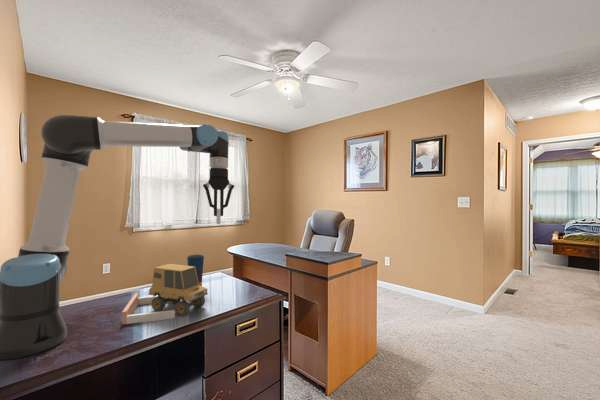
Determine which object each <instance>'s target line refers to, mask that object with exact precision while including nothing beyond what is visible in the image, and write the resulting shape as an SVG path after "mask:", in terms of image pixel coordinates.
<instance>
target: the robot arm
mask: <svg viewBox="0 0 600 400" xmlns="http://www.w3.org/2000/svg"><path fill="white" fill-rule="evenodd" d="M40 136H41V137H42V141H43V142H44V144H43V148H42V153H41V158H40V159H41V160H42V161H43V162H44V164H45V170H44V174H43V179H42V182H41V187H40V189H39V190H40V191H39V195H38V200H37V204H36V209H35V213H34V217H33V220H32V226H31V229H30V234H29V237H28V242H26V243H24V244H23V245H21V246H20V248H19V250H18V255H17V257H12V258H9V259H7V260H5V261H4V262H3V263H2V264H1V266H0V361H2V360H3V361H5V360H12V359H20V358H24V357H29V356H33V355H35V354H38V353H42V352H44V351H47V350H50V349H51V348H55V347H56V346H58V345H59V344H61V343H62V342H64V341H65V340H66V338H67V337H68V328H67V327H68V326H67V325H66V322H65V320H64V318H63V316H62V313H61V311H60V284H61V282H62V281H63V279H64V277H65V276H66V273H67V271H68V270H67V269H68V266H67V265H68V264H67V263H68V260H69V259H68V258H69V254H70V251H71V249H70V247H69V246H67V245H66V241H67V235H68V233H69V232H68V230H69V225H70V222H71V217H72V214H73V208H74V204H75V199H76V195H77V190H78V185H79V181H80V177H81V173H82V171H84V170H86V169H88V166H89V163H90V158H91V154H92V152H93V151H95V150H98V151H99V150H101V151H102V150H103V149H104V148H105V147H144V148H145V147H147V148H151V147H155V148H156V147H159V148H160V147H161V148H162V147H163V148H166V147H172V148H173V147H174V148H175V147H176V148H177V147H178V148H179V149H180V150H182V151H185V152H186V151H187V152H188V153H189V152H192V153H194V152H195V153H203V154H204V153H205V154H209V167H210V168H209V179H208V182H207V183H203V185H202V187H203V188H204V189H205V194H206V197H207V201H208V206H209V207H210V208H213V216H214V217H216V222H215V223H216V225H221V218H222V217H223V216H224V209H225V208H227V207H229V206H228V205H229V203H230V199H231V196H232V195H231V194H232V191H233V189H234V188H235V185H234V184H232V183H230V181H229V134H228V132H226V131H223V130H217V129H216V128H215V126H214V125H212V124H209V123H203V124H200V125H188V124H187V125H186V124H185V125H183V124H172V123H170V124H169V123H148V122H134V121H133V122H132V121H130V122H128V121H113V120H112V121H111V120H103V119H101V118H100V117H99V116H89V115H88V116H86V115H72V114H59V115H58V114H57V115H55V116H53V117H50V118H48V119H47V120H45V122H44V123H43V125H42V126H41V133H40ZM210 187H211V188H212V190H213V201H212V198H211V193H210V189H209V188H210ZM226 188H228V189H227V190H228V191H227V194H226V199H225V198H224V192H225V189H226ZM218 191H219V197H220V198H219V203H220V205H219V208H218ZM224 200H225V201H224Z"/></svg>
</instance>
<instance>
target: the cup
mask: <svg viewBox="0 0 600 400" xmlns="http://www.w3.org/2000/svg"><path fill="white" fill-rule="evenodd" d="M204 258H205V255H203V254H189V255H188V256H187V258H186V260H187V266H194V267H195V268H196V273H197V277H198V282H199V283H200V282H201V284H200V286H202V287H203V274H204V273H203V271H204Z"/></svg>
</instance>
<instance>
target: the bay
mask: <svg viewBox="0 0 600 400" xmlns="http://www.w3.org/2000/svg"><path fill="white" fill-rule="evenodd" d="M139 294H140V293H139V292H138V293H137V292H136V293H134V294H133V296H132V297H131V298H130V300H129V302H128V303H127V304H126V306H125V307H124V308H123V310H122V311H121V325H129V324H137V323H146V322H154V321H162V320H165V321H166V320H172V319H176V310H175V309H170V310H169V309H168V310H160V311H153V312H152V311H151V312H143V313H142V312H141V313H135V314H134V312H135V310H136V309H137V307H138V306H139V305H150V304H151V303H152V300H153V299H154V298H155V297H158V295H157V296H154V295H149V296H140V295H139ZM139 296H140V297H139ZM153 296H154V297H153ZM163 298H164V297H163ZM165 299H167V298H166V297H165ZM169 302H170V303H171V301H168V302H167V303H169Z"/></svg>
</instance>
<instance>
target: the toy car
mask: <svg viewBox="0 0 600 400" xmlns="http://www.w3.org/2000/svg"><path fill="white" fill-rule="evenodd" d="M200 284H201V282H200V283H199V282H198V277H197V273H196V268H195V267H194V266H188V265H186V264H185V265H183V264H174V263H167V264H162V265H159V266H157V267H156V266H155V267H154V269H153V277H152V285H151V287H149V290H148V295H149V296H153V297H154V296H158V297H155V298H154V299H153V300H152V303H151V308H152V310H153V311H154V312H159V311H163V309H165V307H166V304H167V303H169V302H168V301H171V302H170V303H171V304H176V305H175V306H174V308H175V309H174V310H175V314H176V315H178V316H180V317H184V316H187V314H189V312H190V309H191V307H192V306H193V307H194V308H195V309H200V308H201V307H203V306H205V303H206V298H205V296H206V295H208V294H209V292H208V288H207V287H204V286H203V285H202V286H200ZM163 297H164V298H163ZM165 297H166V298H167V299H165Z"/></svg>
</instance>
